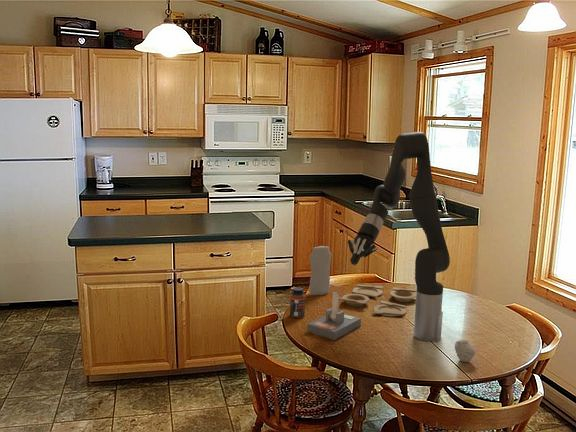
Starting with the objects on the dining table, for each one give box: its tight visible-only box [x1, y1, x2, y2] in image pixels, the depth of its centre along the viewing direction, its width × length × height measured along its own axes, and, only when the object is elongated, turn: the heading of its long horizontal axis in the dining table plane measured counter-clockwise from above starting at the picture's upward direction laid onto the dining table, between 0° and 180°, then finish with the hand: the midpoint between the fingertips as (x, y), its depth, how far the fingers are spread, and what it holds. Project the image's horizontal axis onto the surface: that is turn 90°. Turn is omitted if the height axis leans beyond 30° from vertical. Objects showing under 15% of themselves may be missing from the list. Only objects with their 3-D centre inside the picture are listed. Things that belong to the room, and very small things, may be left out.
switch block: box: [306, 307, 362, 341], centre depth 208 cm, size 12×18×7 cm, turn 142°
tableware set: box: [339, 284, 417, 318], centre depth 240 cm, size 35×29×4 cm
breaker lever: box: [329, 282, 343, 321], centre depth 206 cm, size 4×2×14 cm, turn 52°
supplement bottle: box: [289, 286, 306, 319], centre depth 220 cm, size 6×6×11 cm
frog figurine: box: [454, 339, 476, 363], centre depth 183 cm, size 6×7×7 cm
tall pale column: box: [309, 245, 332, 296], centre depth 246 cm, size 11×4×22 cm, turn 112°
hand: (353, 263), depth 213 cm, fingers closed
